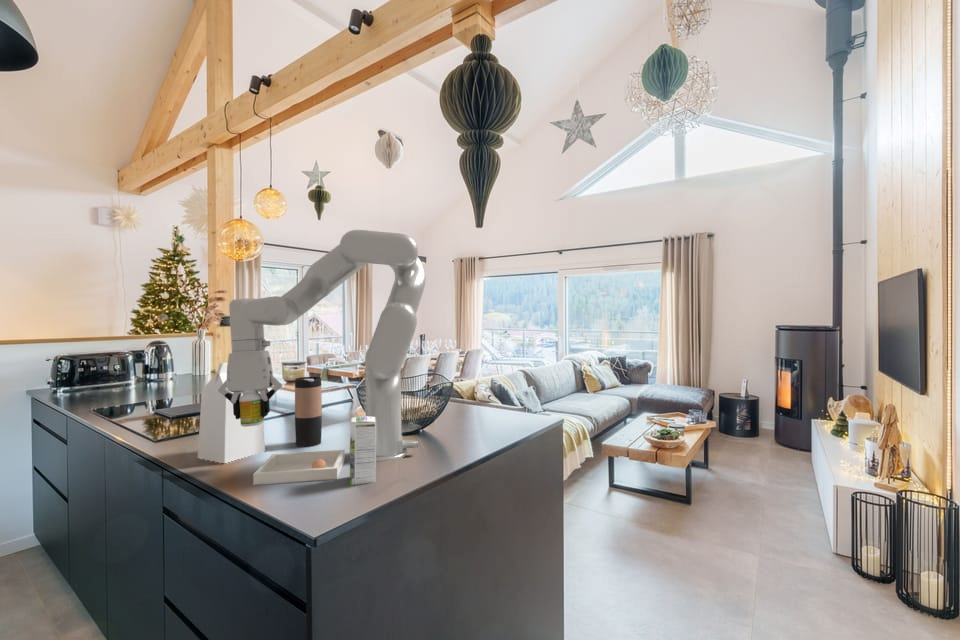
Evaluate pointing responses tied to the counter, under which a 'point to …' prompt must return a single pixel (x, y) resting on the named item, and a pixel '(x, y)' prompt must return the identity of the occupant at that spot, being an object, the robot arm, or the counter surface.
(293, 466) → the tray
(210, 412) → the milk
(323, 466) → the ball
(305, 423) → the travel mug
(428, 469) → the counter surface
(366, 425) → the syrup box
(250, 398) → the supplement bottle
